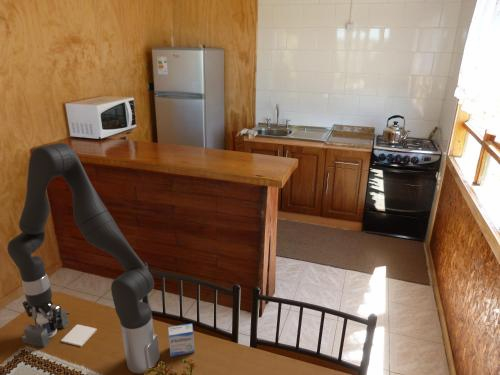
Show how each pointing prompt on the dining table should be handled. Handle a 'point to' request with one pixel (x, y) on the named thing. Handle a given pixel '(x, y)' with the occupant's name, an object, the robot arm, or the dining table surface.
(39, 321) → the pill bottle
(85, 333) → the mat
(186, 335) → the medicine box
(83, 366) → the dining table surface
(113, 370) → the dining table surface
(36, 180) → the robot arm
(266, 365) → the dining table surface
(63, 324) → the dumbbell
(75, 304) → the dining table surface
